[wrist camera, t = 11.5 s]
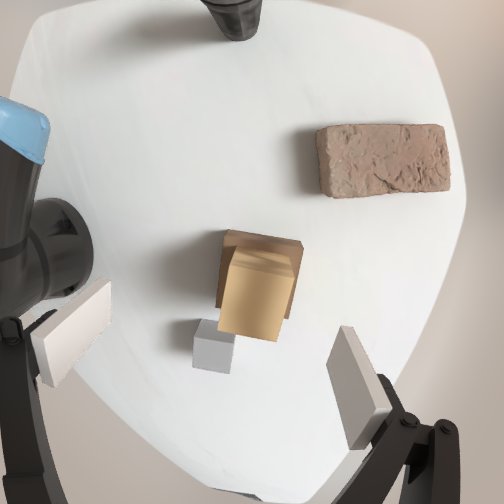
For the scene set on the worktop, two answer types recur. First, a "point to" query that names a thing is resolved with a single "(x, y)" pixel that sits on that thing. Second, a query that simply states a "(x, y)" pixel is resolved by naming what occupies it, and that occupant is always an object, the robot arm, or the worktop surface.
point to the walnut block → (263, 244)
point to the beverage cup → (236, 17)
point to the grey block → (212, 347)
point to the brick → (382, 159)
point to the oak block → (256, 294)
